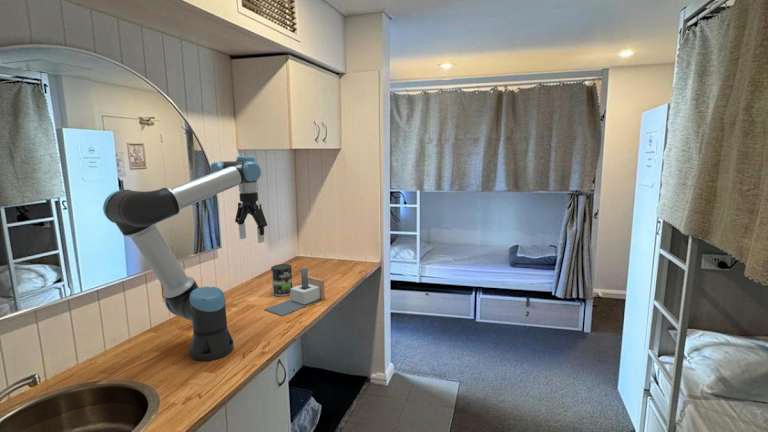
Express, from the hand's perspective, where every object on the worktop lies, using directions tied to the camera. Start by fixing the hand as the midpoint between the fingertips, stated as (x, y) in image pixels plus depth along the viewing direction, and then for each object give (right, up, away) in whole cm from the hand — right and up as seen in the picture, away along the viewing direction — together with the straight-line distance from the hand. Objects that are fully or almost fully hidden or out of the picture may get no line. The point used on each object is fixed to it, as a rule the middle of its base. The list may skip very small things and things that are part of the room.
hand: (252, 240), depth 180 cm
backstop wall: (+23, -30, +28) cm, 47 cm away
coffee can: (+5, -30, +35) cm, 46 cm away
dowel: (+19, -29, +22) cm, 41 cm away
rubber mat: (+15, -32, +18) cm, 40 cm away
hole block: (+19, -31, +22) cm, 43 cm away
